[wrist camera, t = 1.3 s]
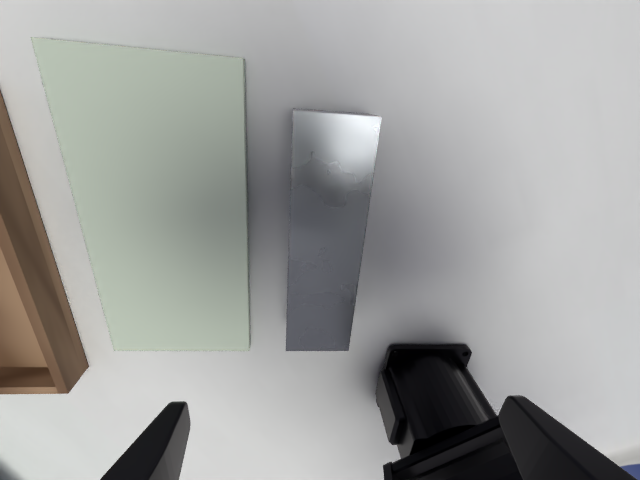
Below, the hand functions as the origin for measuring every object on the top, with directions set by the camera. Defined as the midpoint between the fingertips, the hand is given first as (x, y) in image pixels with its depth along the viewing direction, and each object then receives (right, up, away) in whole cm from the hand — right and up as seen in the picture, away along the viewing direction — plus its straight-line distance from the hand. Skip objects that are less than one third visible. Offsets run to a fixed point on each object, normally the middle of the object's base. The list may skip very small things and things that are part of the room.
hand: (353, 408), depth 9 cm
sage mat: (-10, +5, +9) cm, 15 cm away
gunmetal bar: (-1, +5, +11) cm, 12 cm away
